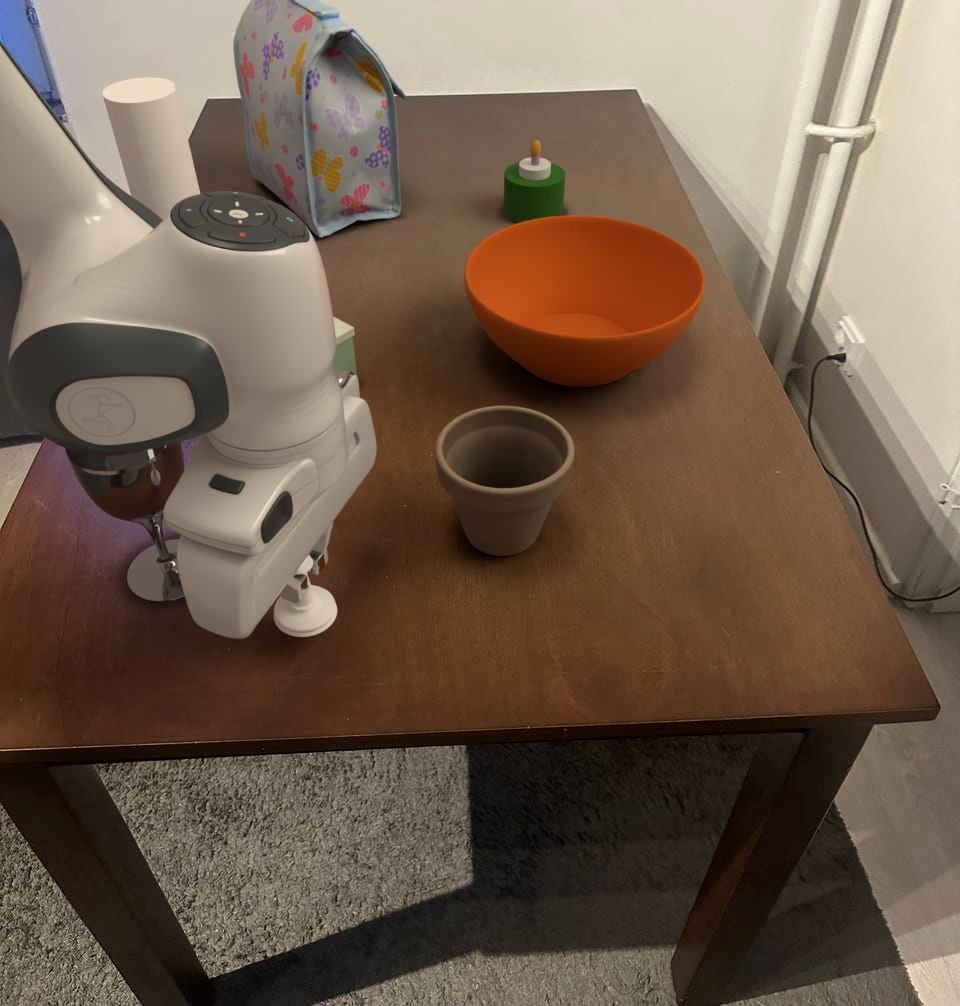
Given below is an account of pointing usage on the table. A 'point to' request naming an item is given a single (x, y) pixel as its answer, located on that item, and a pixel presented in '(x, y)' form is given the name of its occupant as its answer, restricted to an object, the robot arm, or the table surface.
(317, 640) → the table surface
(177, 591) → the wine glass
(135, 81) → the cylindrical container
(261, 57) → the lunch bag
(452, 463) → the flower pot
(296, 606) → the chess piece
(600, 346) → the bowl
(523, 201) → the candle
